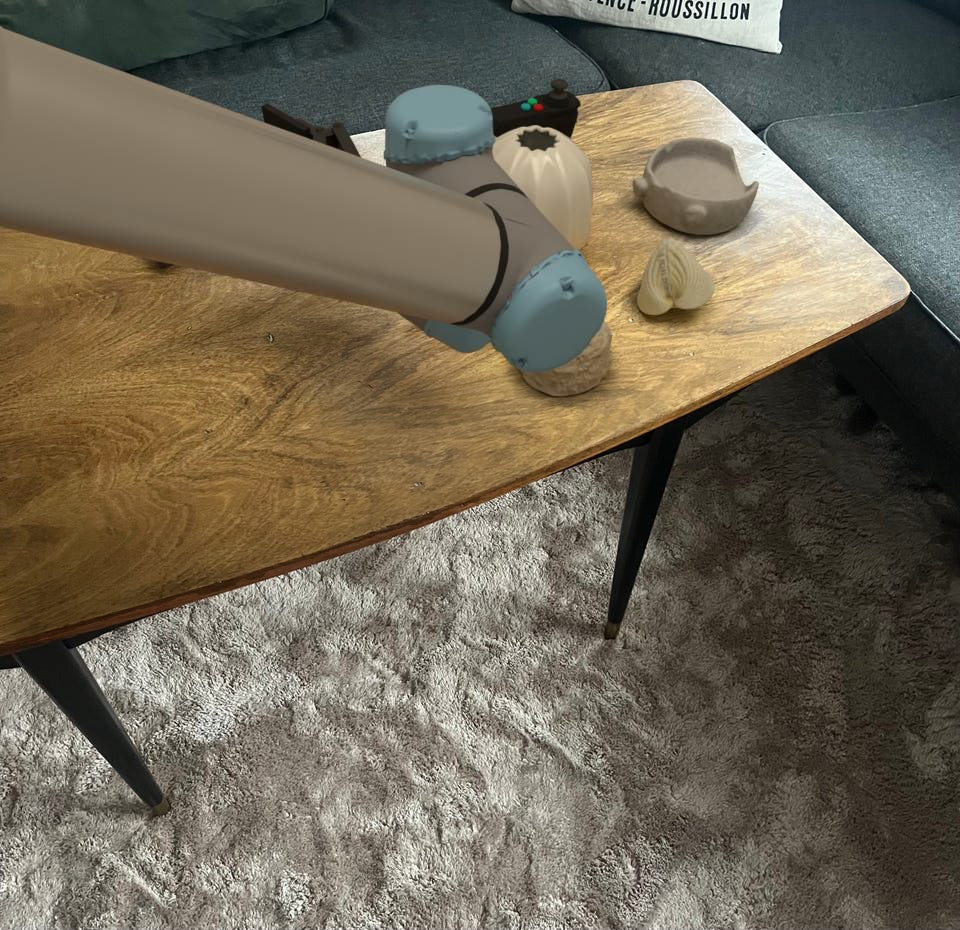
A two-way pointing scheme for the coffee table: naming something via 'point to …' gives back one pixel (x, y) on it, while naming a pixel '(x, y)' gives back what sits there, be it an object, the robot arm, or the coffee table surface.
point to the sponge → (576, 369)
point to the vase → (550, 177)
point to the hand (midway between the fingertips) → (210, 142)
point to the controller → (540, 112)
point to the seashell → (673, 280)
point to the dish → (695, 186)
